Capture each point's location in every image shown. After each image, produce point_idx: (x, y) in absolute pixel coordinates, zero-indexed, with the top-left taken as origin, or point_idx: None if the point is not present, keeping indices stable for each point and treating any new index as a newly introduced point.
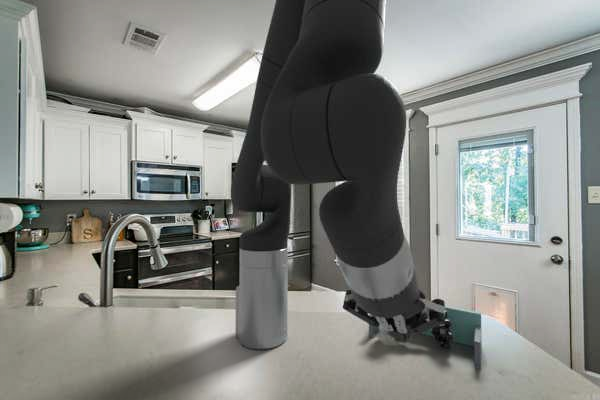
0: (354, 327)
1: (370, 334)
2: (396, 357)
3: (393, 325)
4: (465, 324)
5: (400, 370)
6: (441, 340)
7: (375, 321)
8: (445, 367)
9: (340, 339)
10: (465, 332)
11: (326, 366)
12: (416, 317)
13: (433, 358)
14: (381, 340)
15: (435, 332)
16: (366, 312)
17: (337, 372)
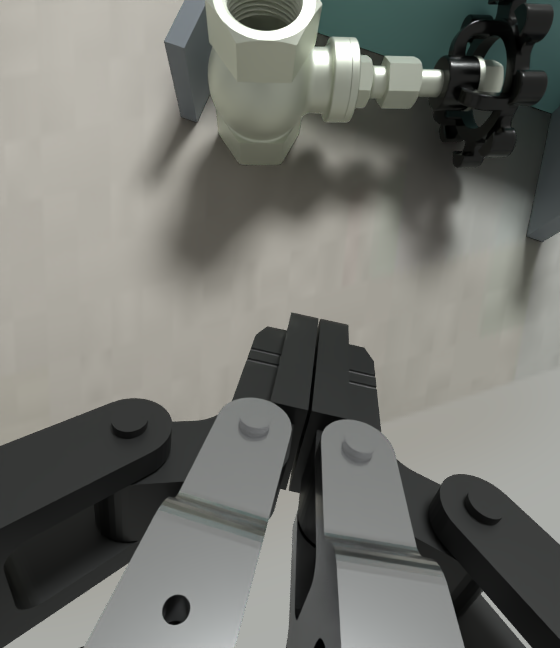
0: (121, 55)
1: (185, 112)
2: (279, 240)
3: (269, 516)
4: None
5: (288, 318)
6: (453, 122)
7: (125, 559)
8: (437, 261)
9: (61, 162)
10: (552, 68)
11: (9, 367)
12: (474, 584)
13: (405, 216)
14: (229, 145)
15: (448, 108)
16: (3, 615)
17: (55, 394)
